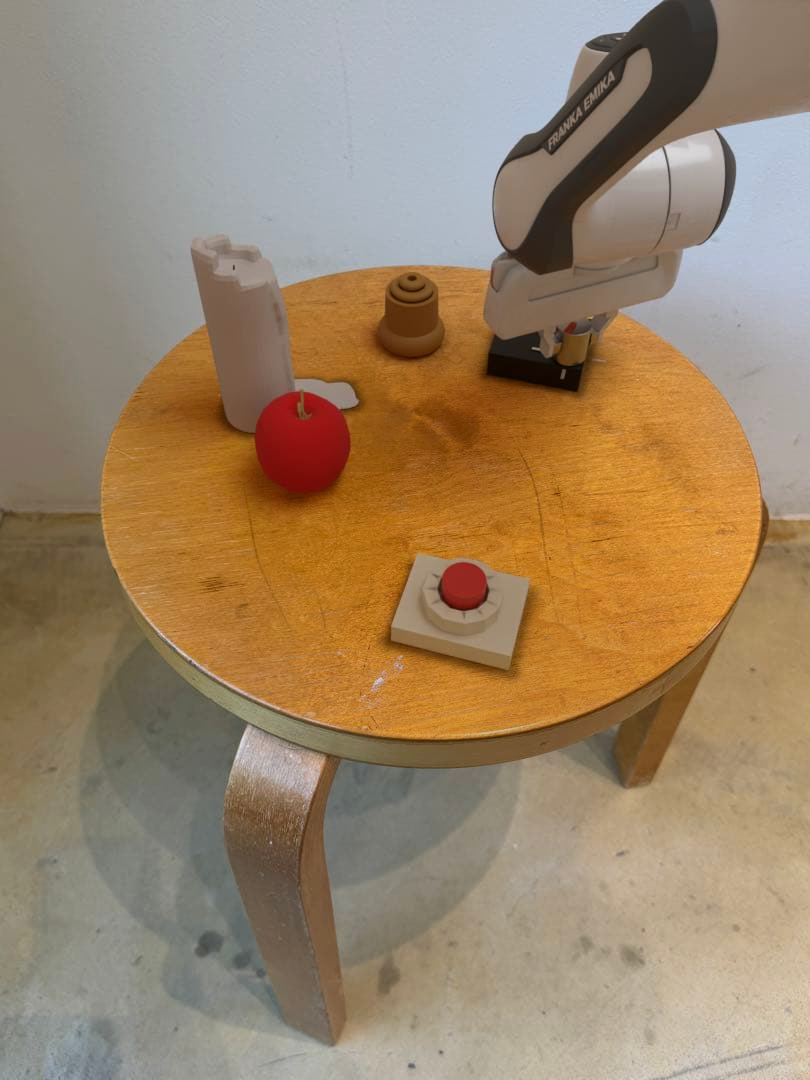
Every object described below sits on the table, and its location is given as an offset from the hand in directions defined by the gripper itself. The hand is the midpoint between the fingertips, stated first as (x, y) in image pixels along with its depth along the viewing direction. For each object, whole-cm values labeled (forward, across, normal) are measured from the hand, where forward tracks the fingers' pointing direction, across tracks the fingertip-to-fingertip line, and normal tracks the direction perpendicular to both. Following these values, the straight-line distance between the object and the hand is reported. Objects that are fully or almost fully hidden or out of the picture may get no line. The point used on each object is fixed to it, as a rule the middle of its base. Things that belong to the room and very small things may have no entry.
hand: (570, 347), depth 89 cm
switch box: (+4, -24, -24) cm, 34 cm away
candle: (+4, -28, +8) cm, 30 cm away
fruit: (+4, -30, -3) cm, 31 cm away
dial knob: (+1, 0, 0) cm, 1 cm away
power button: (+1, -24, -24) cm, 34 cm away
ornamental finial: (+4, -13, +13) cm, 18 cm away
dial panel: (+4, -1, +3) cm, 5 cm away
